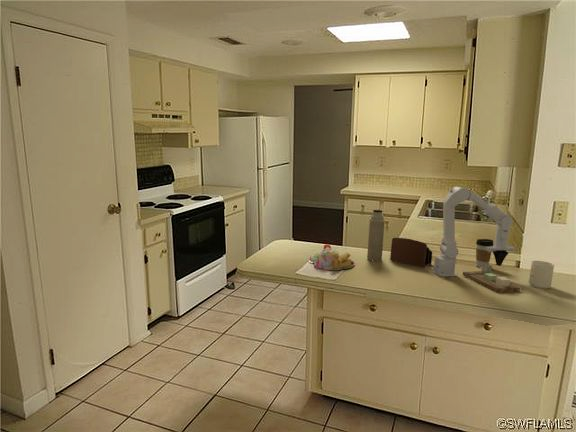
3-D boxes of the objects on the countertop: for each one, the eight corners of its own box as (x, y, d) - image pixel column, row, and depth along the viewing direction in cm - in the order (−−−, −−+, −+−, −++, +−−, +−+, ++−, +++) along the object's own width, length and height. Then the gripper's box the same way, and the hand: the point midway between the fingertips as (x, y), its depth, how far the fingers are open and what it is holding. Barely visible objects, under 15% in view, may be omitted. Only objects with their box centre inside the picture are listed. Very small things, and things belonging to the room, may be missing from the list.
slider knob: (486, 273, 195) (487, 266, 194) (481, 271, 198) (482, 263, 197) (491, 273, 195) (492, 265, 194) (486, 271, 199) (487, 263, 198)
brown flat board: (496, 292, 176) (497, 288, 175) (462, 275, 199) (463, 271, 198) (519, 291, 178) (520, 286, 178) (483, 274, 201) (484, 270, 201)
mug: (554, 290, 182) (558, 266, 180) (534, 288, 183) (537, 265, 181) (540, 281, 194) (543, 259, 192) (521, 280, 194) (524, 258, 193)
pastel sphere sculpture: (362, 265, 212) (363, 248, 210) (337, 274, 195) (338, 256, 193) (324, 256, 228) (325, 240, 227) (298, 263, 211) (298, 246, 209)
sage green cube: (489, 283, 186) (489, 276, 185) (483, 280, 190) (484, 273, 189) (496, 283, 187) (497, 275, 186) (490, 280, 191) (491, 273, 190)
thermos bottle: (379, 257, 227) (383, 209, 222) (383, 261, 219) (386, 211, 214) (365, 257, 227) (369, 208, 222) (368, 261, 219) (372, 210, 214)
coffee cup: (492, 269, 211) (496, 242, 208) (475, 268, 212) (478, 240, 210) (488, 265, 219) (491, 238, 216) (471, 264, 221) (474, 237, 218)
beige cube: (501, 287, 178) (502, 280, 178) (495, 284, 182) (496, 277, 181) (509, 287, 179) (510, 279, 178) (502, 284, 183) (503, 276, 182)
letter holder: (424, 268, 209) (426, 242, 207) (389, 260, 222) (391, 236, 220) (431, 264, 217) (434, 239, 215) (397, 257, 230) (399, 233, 227)
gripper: (494, 240, 190) (491, 268, 192) (520, 240, 193) (517, 267, 195) (484, 237, 197) (481, 263, 199) (510, 236, 200) (506, 263, 202)
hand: (498, 265), depth 197 cm, fingers closed
